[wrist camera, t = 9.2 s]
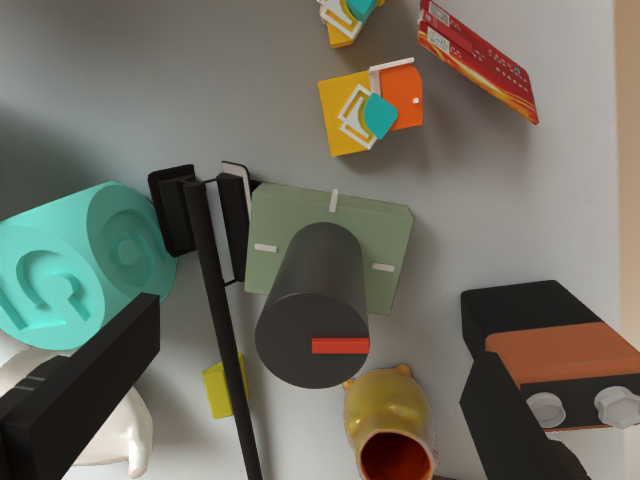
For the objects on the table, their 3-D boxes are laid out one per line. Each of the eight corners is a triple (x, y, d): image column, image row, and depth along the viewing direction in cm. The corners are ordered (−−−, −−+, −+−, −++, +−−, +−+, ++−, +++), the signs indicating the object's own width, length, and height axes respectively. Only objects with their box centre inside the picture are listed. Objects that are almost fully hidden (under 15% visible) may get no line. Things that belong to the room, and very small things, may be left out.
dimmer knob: (290, 291, 25) (259, 393, 16) (284, 222, 23) (245, 296, 14) (362, 290, 24) (370, 395, 16) (361, 220, 23) (370, 295, 14)
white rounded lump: (125, 537, 27) (-94, 544, 21) (129, 435, 37) (-23, 420, 31) (184, 410, 27) (-23, 382, 21) (173, 340, 36) (27, 307, 30)
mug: (333, 369, 31) (329, 438, 24) (415, 352, 29) (434, 419, 23) (370, 471, 34) (376, 554, 28) (445, 460, 33) (468, 542, 27)
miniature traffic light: (277, 430, 40) (232, 151, 28) (311, 465, 36) (276, 159, 24) (220, 474, 36) (139, 170, 24) (252, 519, 32) (174, 183, 20)
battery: (554, 328, 28) (659, 443, 18) (461, 338, 29) (516, 453, 19) (556, 276, 26) (671, 373, 17) (458, 288, 27) (516, 387, 18)
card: (420, 38, 17) (424, -9, 20) (414, 46, 17) (419, -2, 20) (542, 124, 19) (530, 70, 22) (535, 129, 19) (524, 76, 22)
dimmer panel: (252, 284, 28) (241, 305, 25) (263, 167, 25) (252, 176, 22) (382, 306, 28) (386, 330, 25) (410, 191, 25) (419, 203, 22)
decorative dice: (46, 207, 27) (-69, 248, 20) (139, 170, 26) (54, 199, 18) (104, 299, 29) (21, 367, 22) (192, 270, 28) (135, 332, 21)
